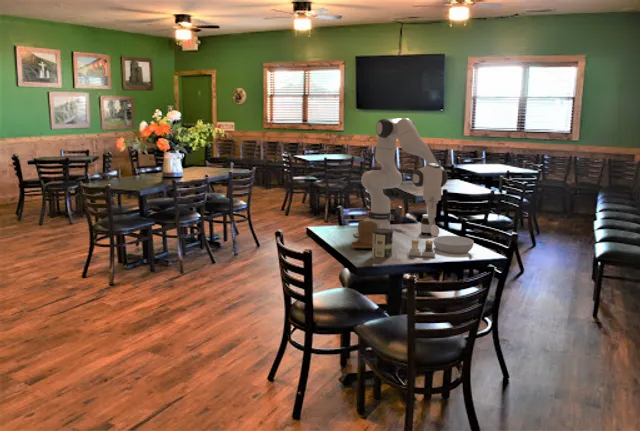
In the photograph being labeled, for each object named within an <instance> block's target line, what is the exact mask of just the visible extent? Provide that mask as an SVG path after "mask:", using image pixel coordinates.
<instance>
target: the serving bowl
mask: <svg viewBox="0 0 640 431" xmlns="http://www.w3.org/2000/svg"><path fill="white" fill-rule="evenodd" d="M432 241H433V245H434V247H435V249H437V251H440V252H442V253H445V254H453V255H457V254H458V255H460V254H467V253H469V251H471V250H472V248H473V247H474V244H475V243H474V239H471V238H469V237H464V236H459V235H440V236H439V235H438V236H434V238H433V240H432Z"/></svg>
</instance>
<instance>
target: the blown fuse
mask: <svg viewBox="0 0 640 431" xmlns="http://www.w3.org/2000/svg"><path fill="white" fill-rule="evenodd" d="M433 245H434V242H433V240H425V248H424V249H425V252H432V250H433Z"/></svg>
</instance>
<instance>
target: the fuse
mask: <svg viewBox="0 0 640 431" xmlns="http://www.w3.org/2000/svg"><path fill="white" fill-rule="evenodd" d="M419 242H420V240H418V239H411V248H412V250H411V251H418V249H419Z"/></svg>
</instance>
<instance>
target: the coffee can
mask: <svg viewBox="0 0 640 431" xmlns="http://www.w3.org/2000/svg"><path fill="white" fill-rule="evenodd" d="M393 233H394V230H393V229H391V228H390V229H374V230H373V242H372V248H371V249H372V250H371V258H372V259H375V257H377V258H389V257H392V254H393V239H394V238H393V237H394V236H393V235H394V234H393Z"/></svg>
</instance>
